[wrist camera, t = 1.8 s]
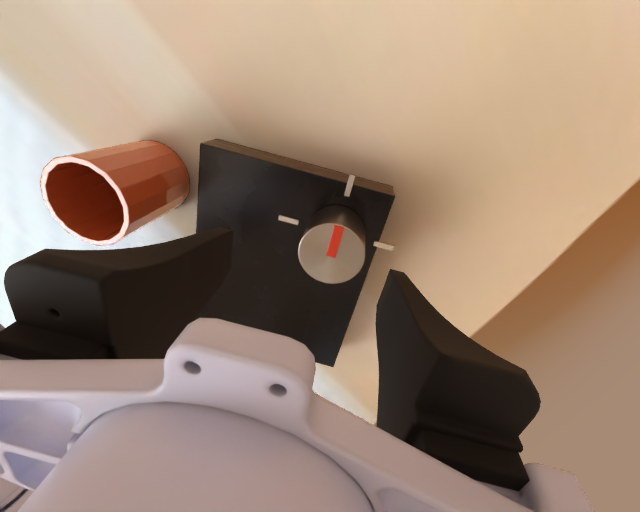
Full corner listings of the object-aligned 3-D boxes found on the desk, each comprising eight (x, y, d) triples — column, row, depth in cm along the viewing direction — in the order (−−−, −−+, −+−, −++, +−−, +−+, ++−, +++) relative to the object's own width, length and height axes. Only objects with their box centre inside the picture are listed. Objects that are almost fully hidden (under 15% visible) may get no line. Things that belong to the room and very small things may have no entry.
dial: (355, 264, 22) (353, 294, 19) (302, 249, 22) (291, 276, 19) (373, 213, 21) (373, 236, 17) (314, 197, 21) (304, 217, 17)
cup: (188, 216, 25) (131, 255, 19) (126, 199, 25) (49, 232, 19) (191, 150, 23) (125, 170, 17) (122, 132, 23) (31, 145, 17)
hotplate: (346, 350, 30) (345, 372, 27) (204, 310, 30) (190, 329, 27) (410, 182, 22) (416, 192, 19) (217, 129, 22) (199, 133, 20)
